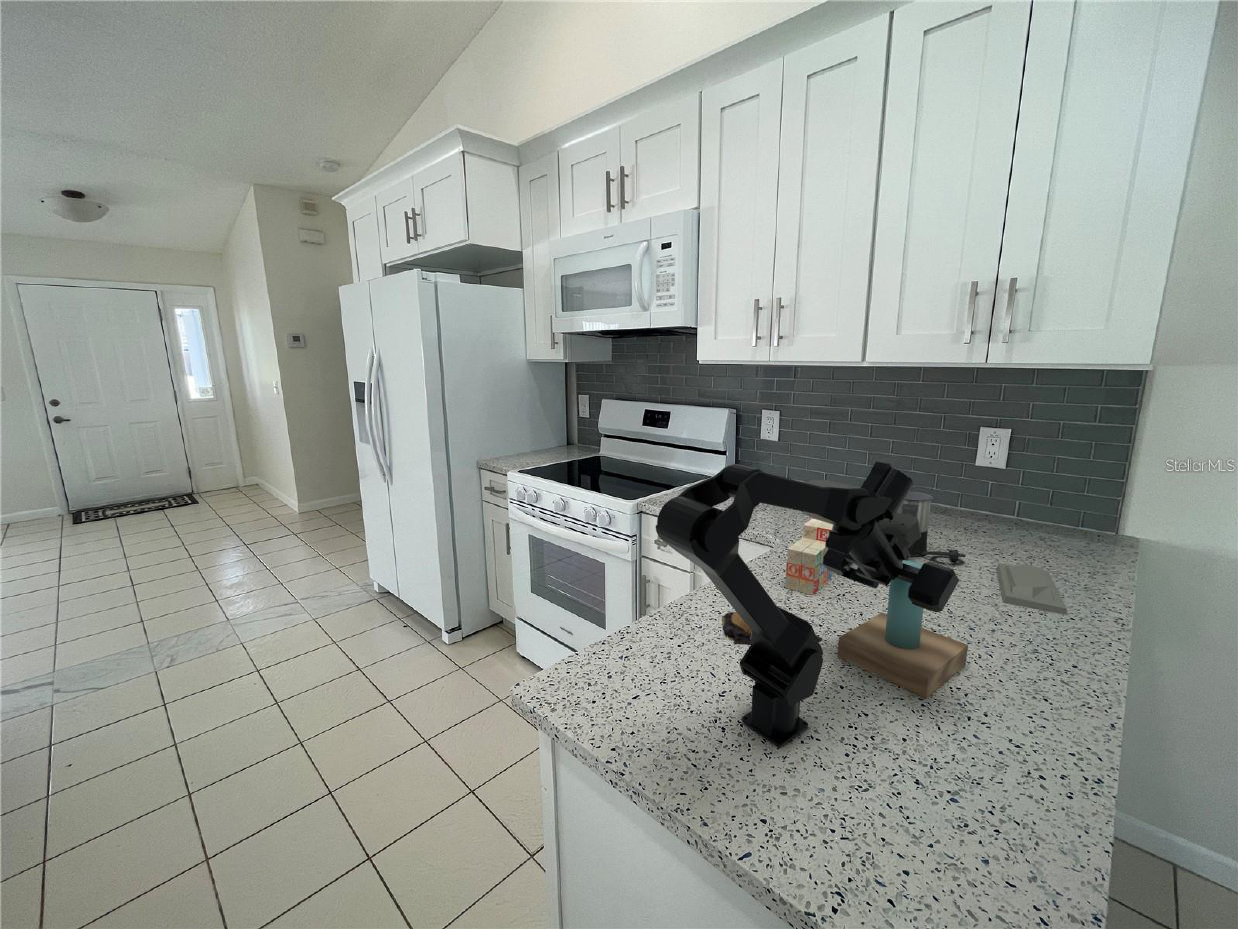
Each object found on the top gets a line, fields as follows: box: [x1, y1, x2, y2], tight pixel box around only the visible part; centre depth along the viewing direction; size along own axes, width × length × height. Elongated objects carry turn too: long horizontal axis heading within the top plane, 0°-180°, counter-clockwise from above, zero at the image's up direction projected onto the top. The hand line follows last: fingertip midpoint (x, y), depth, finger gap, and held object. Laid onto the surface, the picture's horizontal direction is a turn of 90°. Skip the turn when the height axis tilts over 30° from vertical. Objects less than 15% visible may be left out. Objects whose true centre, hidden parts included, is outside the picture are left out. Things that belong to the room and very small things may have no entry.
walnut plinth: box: [837, 612, 969, 699], centre depth 86 cm, size 14×14×4 cm
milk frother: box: [897, 490, 966, 561], centre depth 130 cm, size 14×16×15 cm
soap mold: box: [995, 563, 1068, 616], centre depth 111 cm, size 10×20×4 cm, turn 148°
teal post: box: [885, 560, 925, 649], centre depth 84 cm, size 5×5×13 cm
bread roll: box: [721, 611, 752, 646], centre depth 96 cm, size 11×8×4 cm
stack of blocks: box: [784, 518, 836, 596], centre depth 118 cm, size 21×6×12 cm, turn 141°
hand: (903, 596), depth 83 cm, fingers open, 9 cm apart
